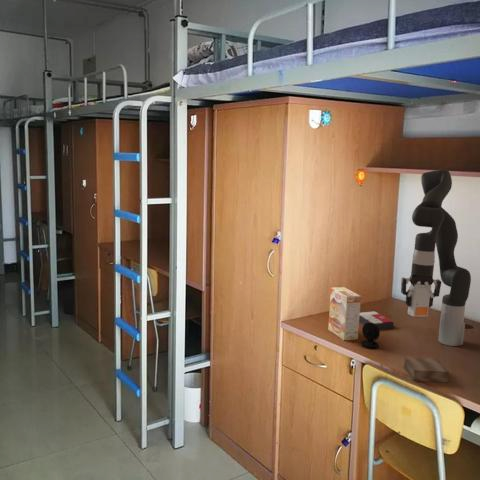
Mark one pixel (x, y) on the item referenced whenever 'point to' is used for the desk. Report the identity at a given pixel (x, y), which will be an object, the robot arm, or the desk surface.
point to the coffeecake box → (344, 313)
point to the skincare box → (419, 301)
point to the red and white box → (375, 320)
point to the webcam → (370, 335)
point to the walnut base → (426, 369)
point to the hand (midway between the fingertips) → (418, 306)
